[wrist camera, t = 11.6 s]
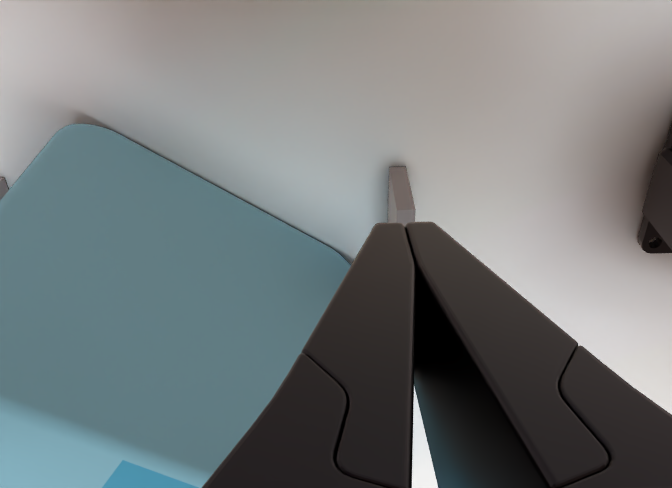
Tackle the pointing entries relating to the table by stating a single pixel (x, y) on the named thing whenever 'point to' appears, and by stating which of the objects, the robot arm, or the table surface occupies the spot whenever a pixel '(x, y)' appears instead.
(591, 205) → the table surface
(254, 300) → the data package
